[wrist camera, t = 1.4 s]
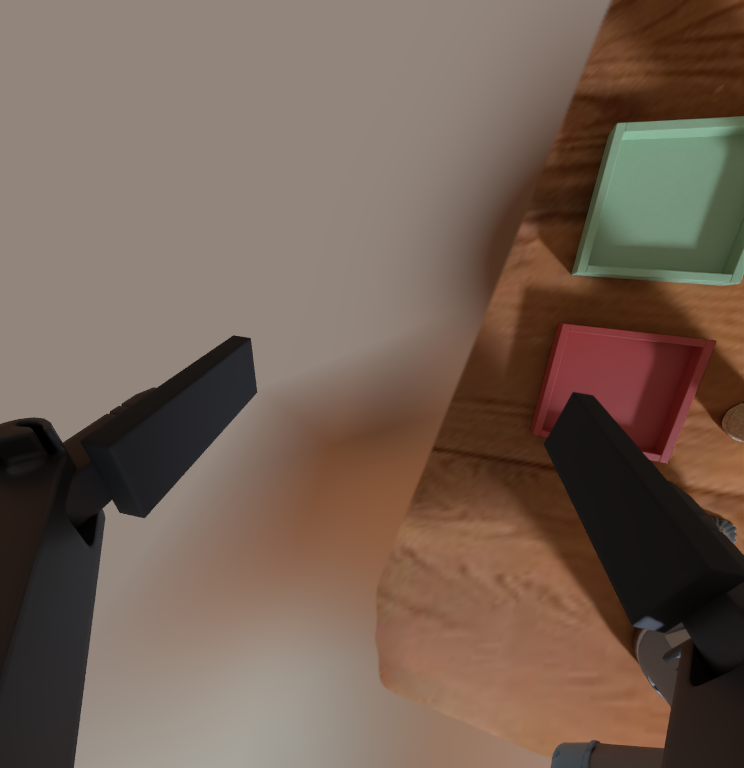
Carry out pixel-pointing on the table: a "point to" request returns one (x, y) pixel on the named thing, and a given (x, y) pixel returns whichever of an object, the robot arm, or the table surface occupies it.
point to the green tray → (668, 204)
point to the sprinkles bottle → (734, 422)
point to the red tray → (625, 381)
